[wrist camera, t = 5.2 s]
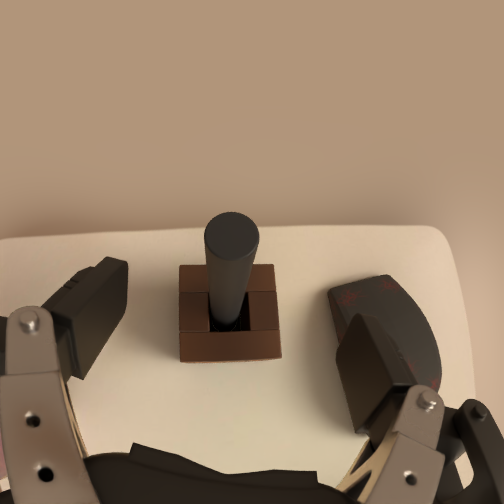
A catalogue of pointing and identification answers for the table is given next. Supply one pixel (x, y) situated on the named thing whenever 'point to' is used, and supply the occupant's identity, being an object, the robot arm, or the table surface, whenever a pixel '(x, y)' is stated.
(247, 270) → the stylus
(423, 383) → the computer mouse
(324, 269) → the table surface
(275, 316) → the pen stand
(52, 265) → the table surface
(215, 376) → the table surface
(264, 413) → the table surface
